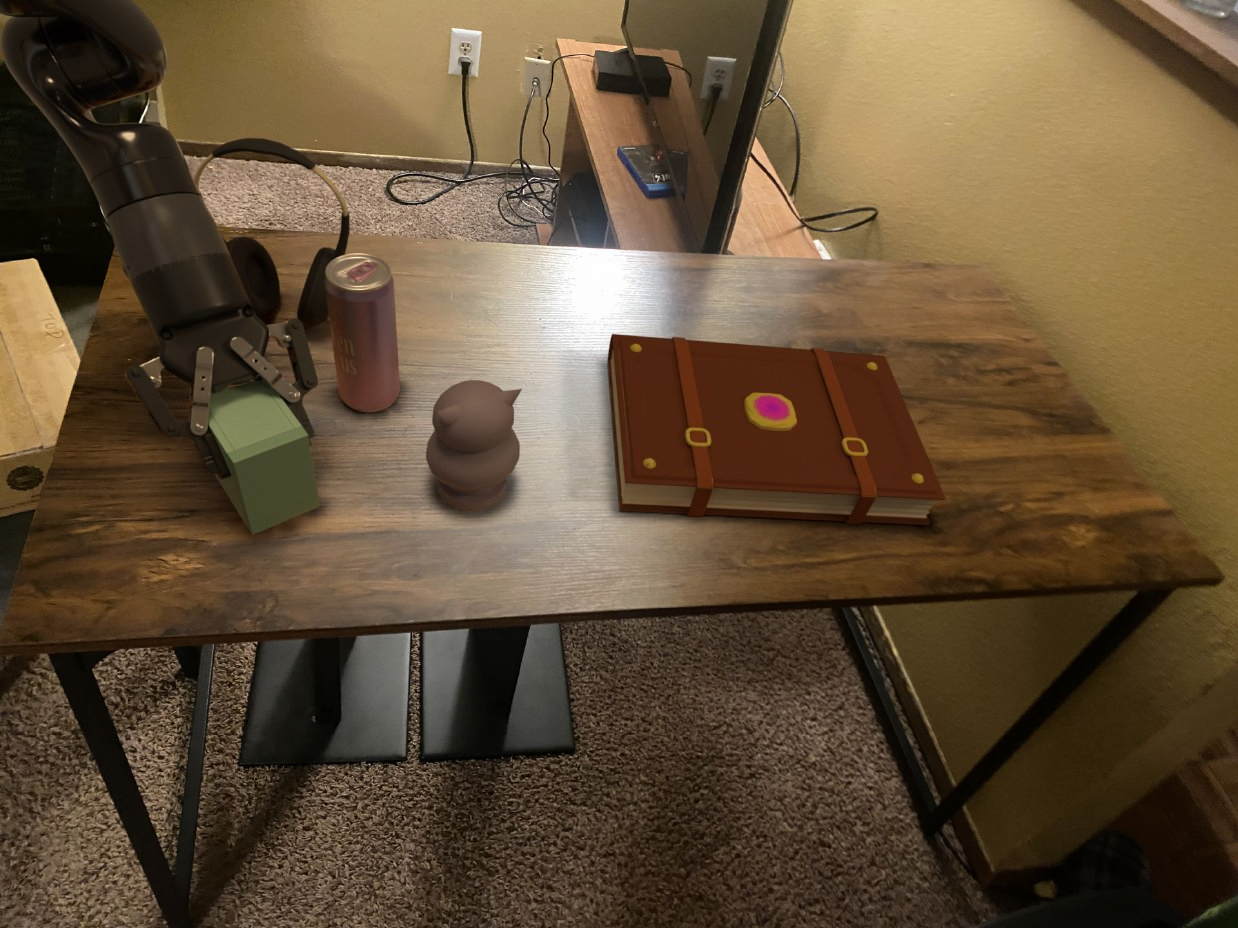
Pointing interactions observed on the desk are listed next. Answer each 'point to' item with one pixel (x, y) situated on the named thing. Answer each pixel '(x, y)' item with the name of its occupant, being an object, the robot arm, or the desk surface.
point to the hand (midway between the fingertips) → (266, 461)
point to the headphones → (257, 261)
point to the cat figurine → (473, 444)
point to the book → (764, 433)
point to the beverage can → (363, 330)
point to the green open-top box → (263, 455)
